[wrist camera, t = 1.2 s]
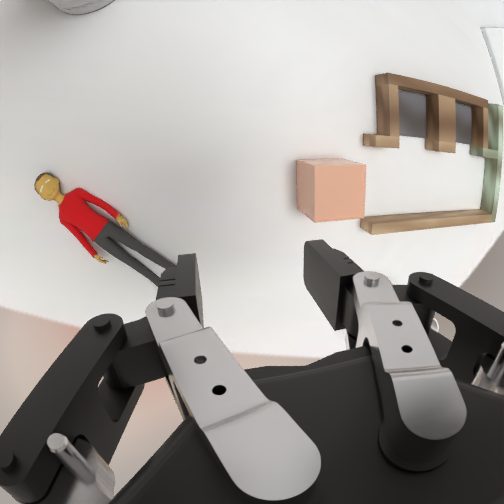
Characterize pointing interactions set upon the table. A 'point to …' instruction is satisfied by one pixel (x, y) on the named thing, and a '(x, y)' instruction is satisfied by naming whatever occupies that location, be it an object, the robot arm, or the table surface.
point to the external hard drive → (496, 52)
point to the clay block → (331, 189)
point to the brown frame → (437, 142)
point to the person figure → (97, 225)
